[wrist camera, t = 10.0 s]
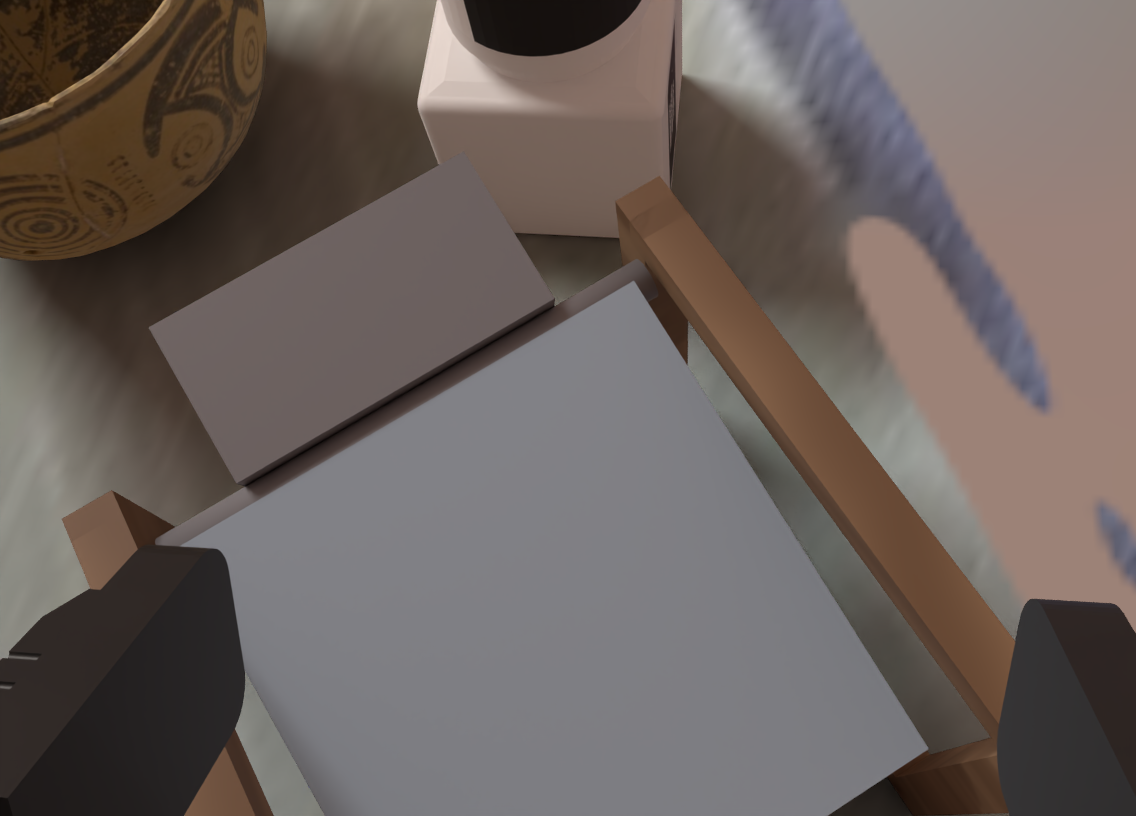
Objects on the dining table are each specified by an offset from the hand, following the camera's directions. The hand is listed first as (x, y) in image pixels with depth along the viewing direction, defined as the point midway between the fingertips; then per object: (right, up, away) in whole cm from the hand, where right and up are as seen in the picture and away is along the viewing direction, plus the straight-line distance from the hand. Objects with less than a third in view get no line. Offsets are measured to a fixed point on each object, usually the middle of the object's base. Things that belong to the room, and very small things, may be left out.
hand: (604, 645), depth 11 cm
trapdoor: (-2, -1, +14) cm, 14 cm away
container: (0, +12, +30) cm, 33 cm away
